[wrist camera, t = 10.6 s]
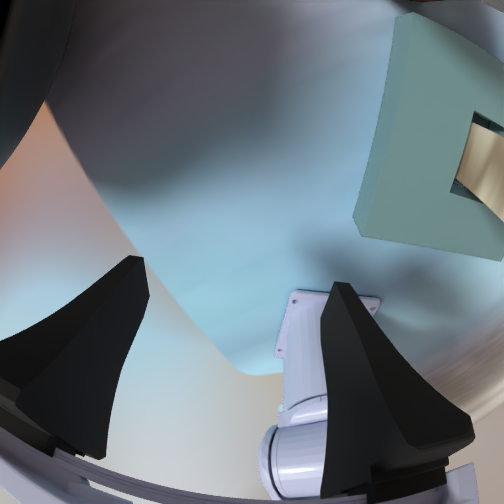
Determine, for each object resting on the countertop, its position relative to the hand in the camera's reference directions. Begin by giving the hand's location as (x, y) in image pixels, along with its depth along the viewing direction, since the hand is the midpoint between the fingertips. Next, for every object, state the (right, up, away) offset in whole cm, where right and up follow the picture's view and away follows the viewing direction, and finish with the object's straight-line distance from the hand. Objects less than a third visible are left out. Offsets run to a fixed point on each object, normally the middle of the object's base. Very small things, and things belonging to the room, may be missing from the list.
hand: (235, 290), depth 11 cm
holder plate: (+15, +9, +4) cm, 18 cm away
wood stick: (+15, +9, +4) cm, 18 cm away
